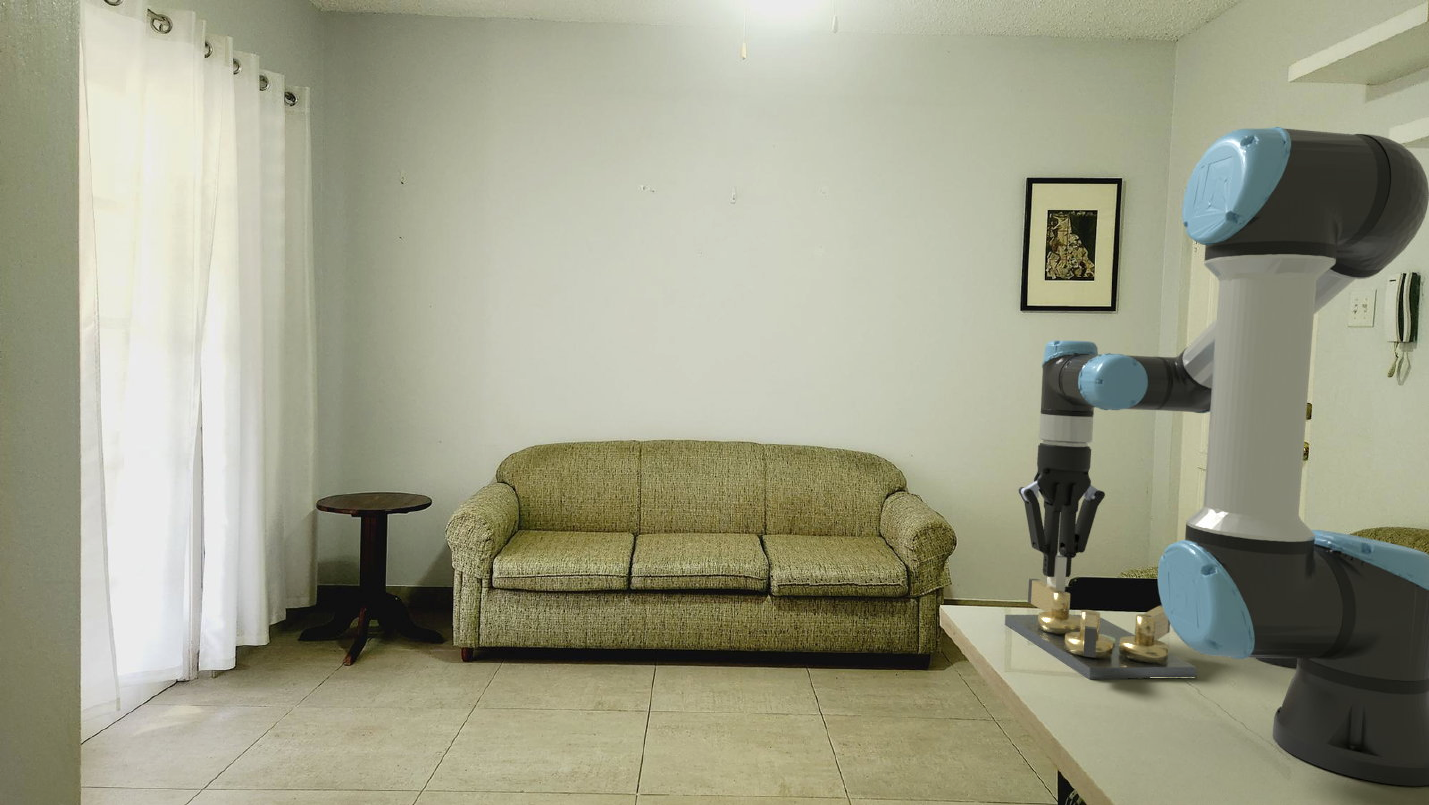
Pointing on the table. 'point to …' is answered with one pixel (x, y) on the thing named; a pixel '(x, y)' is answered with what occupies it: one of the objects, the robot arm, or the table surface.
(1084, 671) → the levelling plate
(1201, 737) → the table surface
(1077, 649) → the brass knob
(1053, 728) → the table surface
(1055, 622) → the brass knob
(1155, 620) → the brass knob
